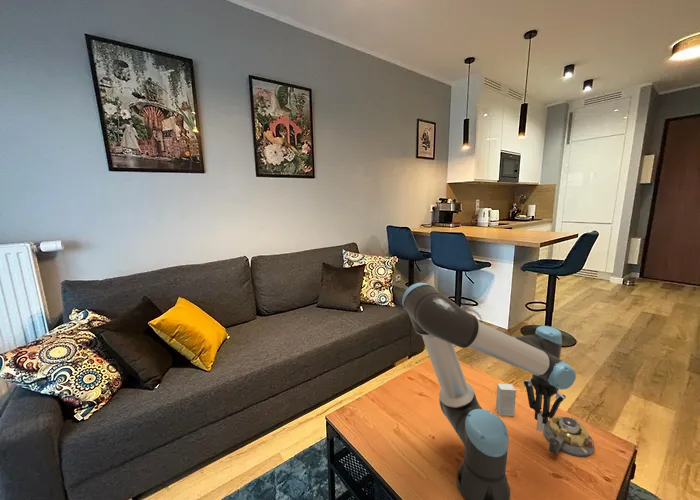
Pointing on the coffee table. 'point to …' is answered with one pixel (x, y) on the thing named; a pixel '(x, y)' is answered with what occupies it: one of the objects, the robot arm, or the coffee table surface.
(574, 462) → the coffee table surface
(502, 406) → the skincare box
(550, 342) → the robot arm
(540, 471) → the coffee table surface
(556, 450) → the ball lever
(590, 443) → the housing
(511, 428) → the coffee table surface
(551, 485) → the coffee table surface
